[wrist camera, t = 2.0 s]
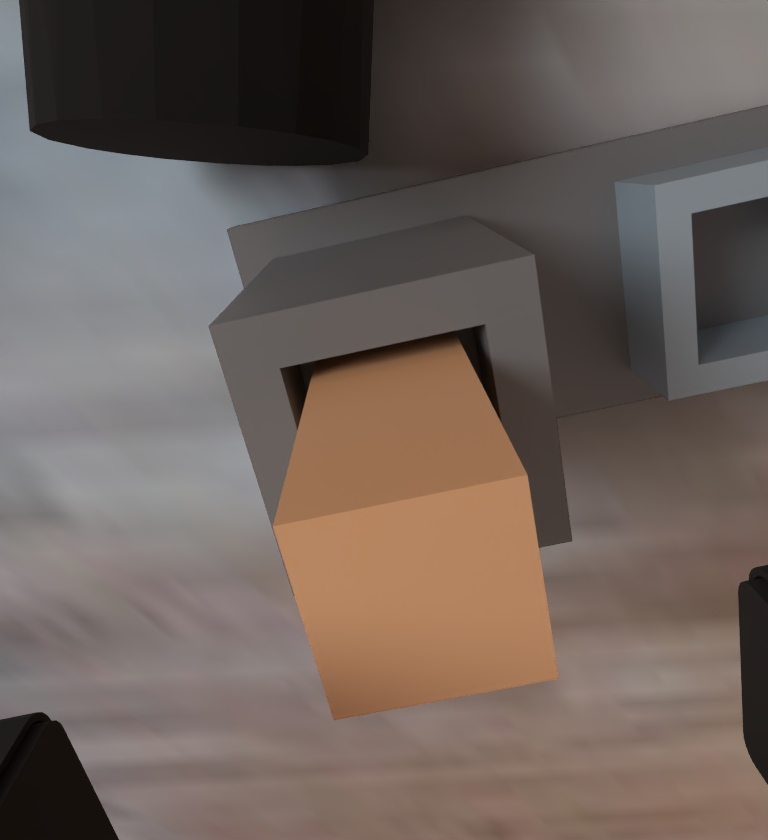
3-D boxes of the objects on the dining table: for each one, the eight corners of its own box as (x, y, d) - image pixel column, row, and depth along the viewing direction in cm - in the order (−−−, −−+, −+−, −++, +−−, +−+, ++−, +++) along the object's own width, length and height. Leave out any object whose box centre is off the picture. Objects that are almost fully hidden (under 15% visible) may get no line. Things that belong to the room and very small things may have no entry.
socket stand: (842, 87, 27) (1235, 29, 15) (834, 351, 31) (1140, 477, 19) (231, 227, 28) (128, 278, 16) (299, 462, 32) (257, 647, 20)
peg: (451, 324, 20) (528, 475, 10) (474, 448, 21) (558, 678, 12) (317, 353, 20) (272, 526, 11) (348, 474, 21) (334, 719, 12)
